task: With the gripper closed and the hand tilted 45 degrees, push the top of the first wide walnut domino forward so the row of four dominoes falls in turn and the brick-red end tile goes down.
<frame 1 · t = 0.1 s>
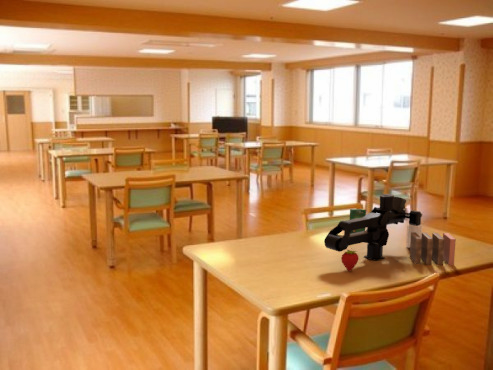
hand: (413, 213, 227), 16 cm above the table, tool horizontal, fingers open, 9 cm apart
strawberry: (348, 271, 198), on the table
tile 1: (414, 260, 212), on the table
tile 3: (436, 261, 211), on the table
tile 2: (425, 260, 211), on the table
coffee box: (357, 234, 255), on the table
can: (413, 248, 231), on the table
tile 4: (447, 261, 210), on the table
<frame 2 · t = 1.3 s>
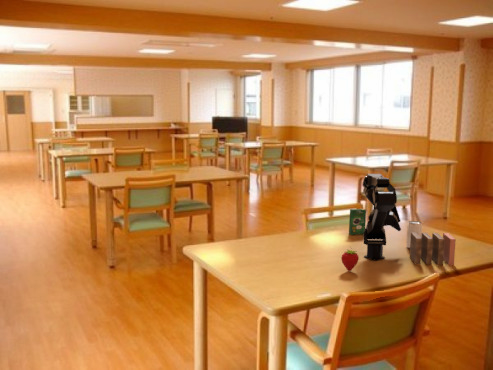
hand: (399, 226, 221), 12 cm above the table, tool tilted 40°, fingers open, 9 cm apart
nothing on the table moved.
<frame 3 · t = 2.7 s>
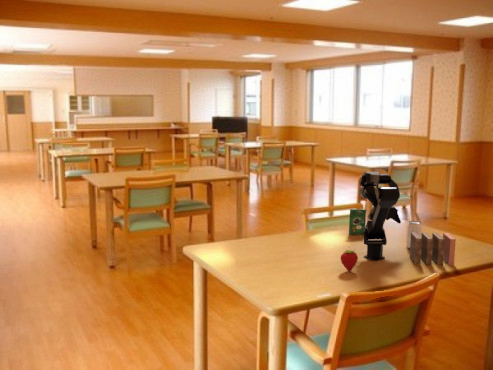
hand: (400, 222, 221), 14 cm above the table, tool tilted 45°, fingers closed
nothing on the table moved.
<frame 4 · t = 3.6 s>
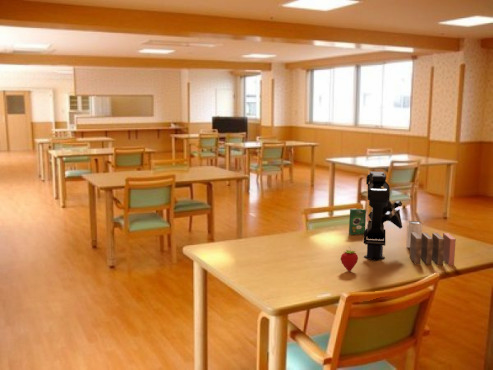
hand: (401, 227, 218), 12 cm above the table, tool tilted 35°, fingers closed
nothing on the table moved.
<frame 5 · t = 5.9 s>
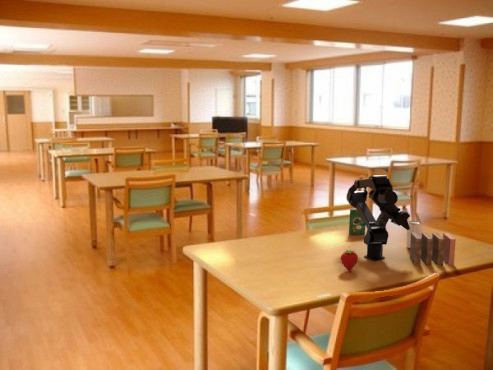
hand: (408, 229, 210), 13 cm above the table, tool tilted 45°, fingers closed
nothing on the table moved.
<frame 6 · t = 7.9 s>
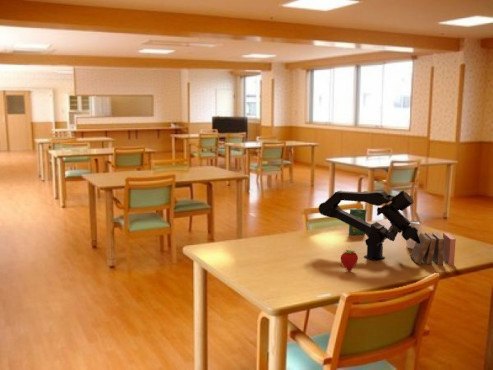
hand: (419, 243, 210), 8 cm above the table, tool tilted 45°, fingers closed
tile 1: (415, 259, 212), on the table, tilted 20°, touching tile 2
tile 2: (425, 260, 211), on the table, tilted 7°, touching tile 1
everything else where it was.
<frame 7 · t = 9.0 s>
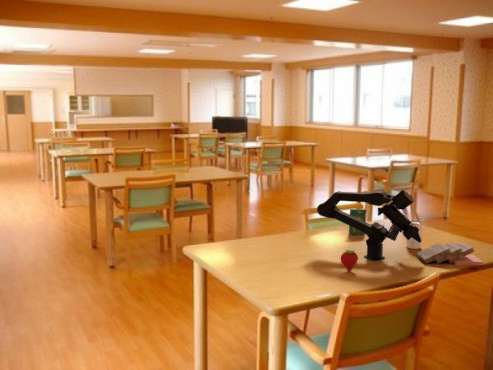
hand: (420, 241, 210), 8 cm above the table, tool tilted 45°, fingers closed
tile 1: (421, 258, 211), point 1 cm above the table, tilted 64°, touching tile 2
tile 3: (444, 257, 211), point 1 cm above the table, tilted 64°, touching tile 2, tile 4
tile 2: (432, 258, 211), point 1 cm above the table, tilted 64°, touching tile 1, tile 3
tile 4: (451, 260, 210), on the table, tilted 90°, touching tile 3
everything else where it was.
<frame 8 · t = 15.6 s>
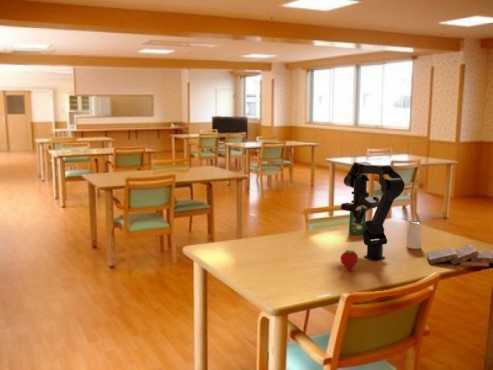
hand: (359, 223, 226), 12 cm above the table, tool pointing down, fingers closed
tile 1: (428, 258, 211), point 1 cm above the table, tilted 73°, touching tile 2
tile 3: (467, 256, 209), point 2 cm above the table, tilted 90°
tile 2: (449, 259, 210), point 1 cm above the table, tilted 64°, touching tile 1
tile 4: (457, 260, 210), on the table, tilted 90°
everything else where it was.
at the end: tile 4 tilted 90°; tile 3 tilted 90°; tile 1 tilted 73° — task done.
